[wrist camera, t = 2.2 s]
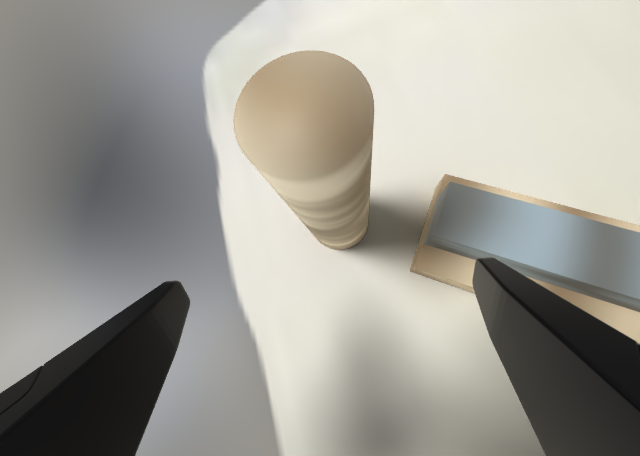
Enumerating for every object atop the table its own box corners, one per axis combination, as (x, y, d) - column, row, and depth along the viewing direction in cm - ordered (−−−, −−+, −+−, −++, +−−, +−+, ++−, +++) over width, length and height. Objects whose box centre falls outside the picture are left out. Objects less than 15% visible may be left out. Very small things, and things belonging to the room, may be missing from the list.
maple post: (347, 260, 20) (320, 206, 8) (300, 230, 21) (207, 136, 9) (379, 212, 21) (402, 85, 8) (331, 184, 22) (285, 31, 9)
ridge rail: (716, 265, 17) (856, 255, 12) (701, 370, 16) (846, 403, 11) (435, 188, 20) (457, 155, 15) (409, 271, 19) (424, 263, 15)
